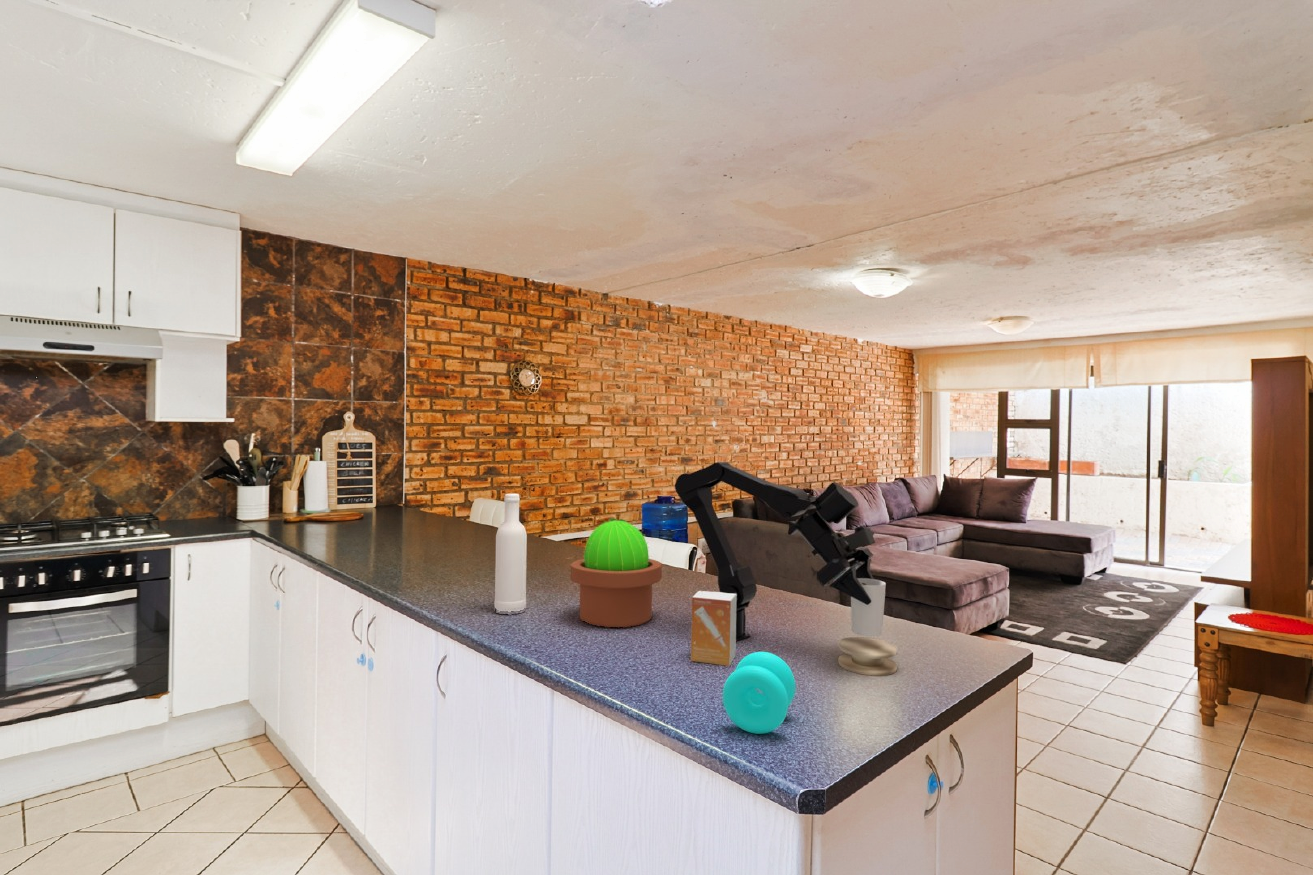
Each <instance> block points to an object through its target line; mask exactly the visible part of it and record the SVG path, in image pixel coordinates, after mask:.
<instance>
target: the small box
mask: <svg viewBox="0 0 1313 875" xmlns="http://www.w3.org/2000/svg"><path fill="white" fill-rule="evenodd" d="M691 599H692V600H691V629H690V633H691V634H690V661H691V662H697V663H705V664H712V665H720V666H726V667H730V666H731V664H732V662H733V661H734V659H735V657H736V650H737V648H736V646H737V641H736V601H737V594H733V593H722V592H720V591H707V590H698V591H697V592H696V593H695V594H694V595H693V596H692V597H691Z"/></svg>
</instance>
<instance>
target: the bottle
mask: <svg viewBox="0 0 1313 875" xmlns="http://www.w3.org/2000/svg"><path fill="white" fill-rule="evenodd" d="M503 500H504V521H503V522H502V523H501V524H500V525H499V526H498V528H497V532H496V534H495V565H494V566H495V568H494V569H495V570H494V571H495V572H494V574H495V577H494V578H495V579H494V584H495V585H494V609H495V608H496V609H497V610H499V611H508V612H511V611H520V610H523V609H524V608H527V596H526V595H527V546H528V544H527V540H528V539H527V538H528V536H527V534H528V533H527V531H526V527H525V525H523V524H522V523H521V521H520V501H521V499H520V494H519V493H505V494H504V498H503Z"/></svg>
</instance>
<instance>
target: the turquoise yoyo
mask: <svg viewBox="0 0 1313 875" xmlns="http://www.w3.org/2000/svg"><path fill="white" fill-rule="evenodd" d="M796 688H797V686H796V679H795V676H794V674H793V671H792V670H791V667H790V666H789V665H788V663H787V662H786V661H785V660H783V659H782V658H781V657H779V655H776V654H775V653H771V652H767V651H757V652H756V651H755V652H752V653H749V654H747V655H746V656H744V657H743V658H742V659H741V660H740V661H739V663H738V664H737V666H736V668H735V670H734V671H733V672H732V673H731V674H729V675H728V677H727V679H726V680H725V682H724V685H723V689H722V703H723V706H724V707H723V708H724V709H725V712H726V714H727V716H728V717H729V719H730V720H731V721H732V722H733V723H734V725H735V726H737V727H738V728H740V729H741V730H743V731H745V732H748V733H752V734H756V735H757V734H758V735H761V734H762V735H763V734H768V733H771V732H772V731H774V730H776V729H777V728H779V727H780V726H781V725H782V723H783V722H784V721H785V719H786V717H787V714H788V711H789V707H790V705H791V704H792V702H793V701H794V698H795V695H796Z"/></svg>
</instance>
